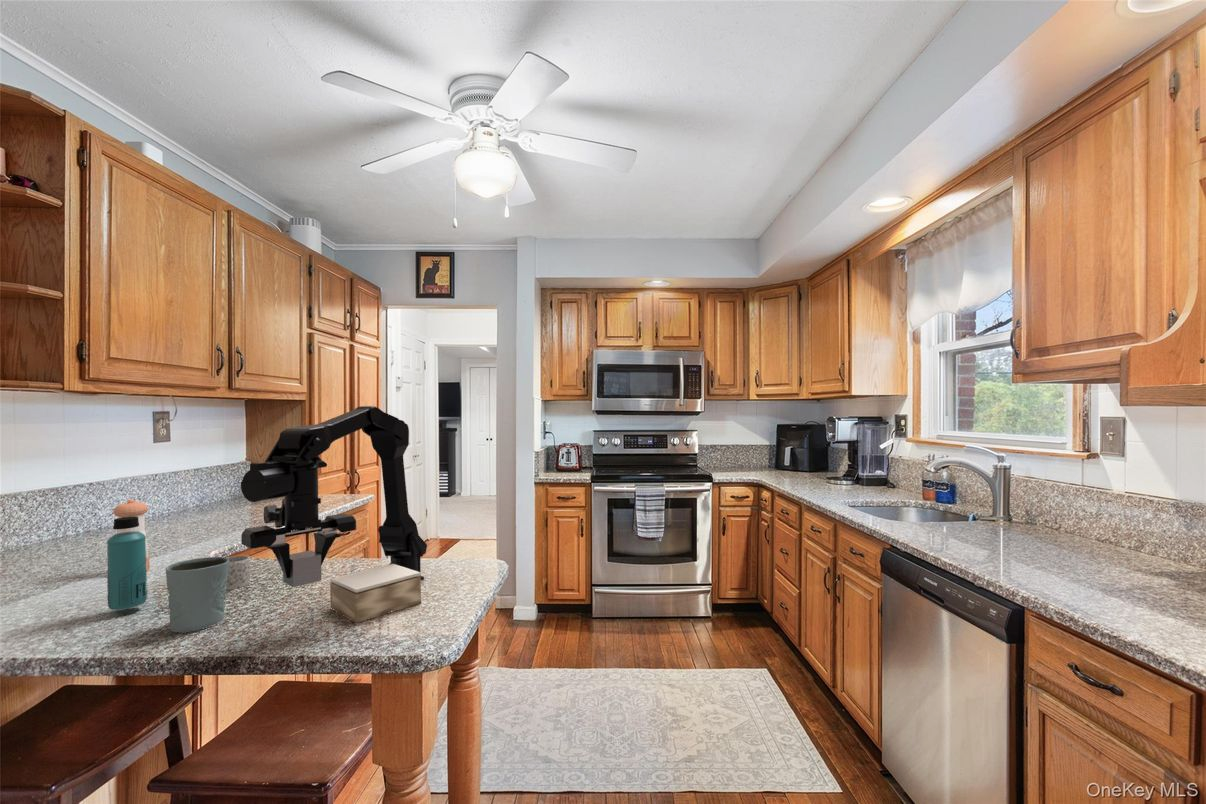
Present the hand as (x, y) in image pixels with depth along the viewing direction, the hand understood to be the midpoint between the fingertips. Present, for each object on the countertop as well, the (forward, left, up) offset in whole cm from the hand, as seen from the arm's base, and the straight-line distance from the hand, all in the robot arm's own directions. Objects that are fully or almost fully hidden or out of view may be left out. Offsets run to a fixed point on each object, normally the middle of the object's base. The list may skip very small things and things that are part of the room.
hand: (302, 574), depth 104 cm
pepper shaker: (+14, -77, -11) cm, 79 cm away
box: (-15, -1, -11) cm, 18 cm away
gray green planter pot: (+12, -20, -11) cm, 26 cm away
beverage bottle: (+20, -40, -11) cm, 46 cm away
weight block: (0, 0, -1) cm, 1 cm away
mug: (+2, -40, -11) cm, 42 cm away
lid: (-15, -1, -5) cm, 16 cm away
